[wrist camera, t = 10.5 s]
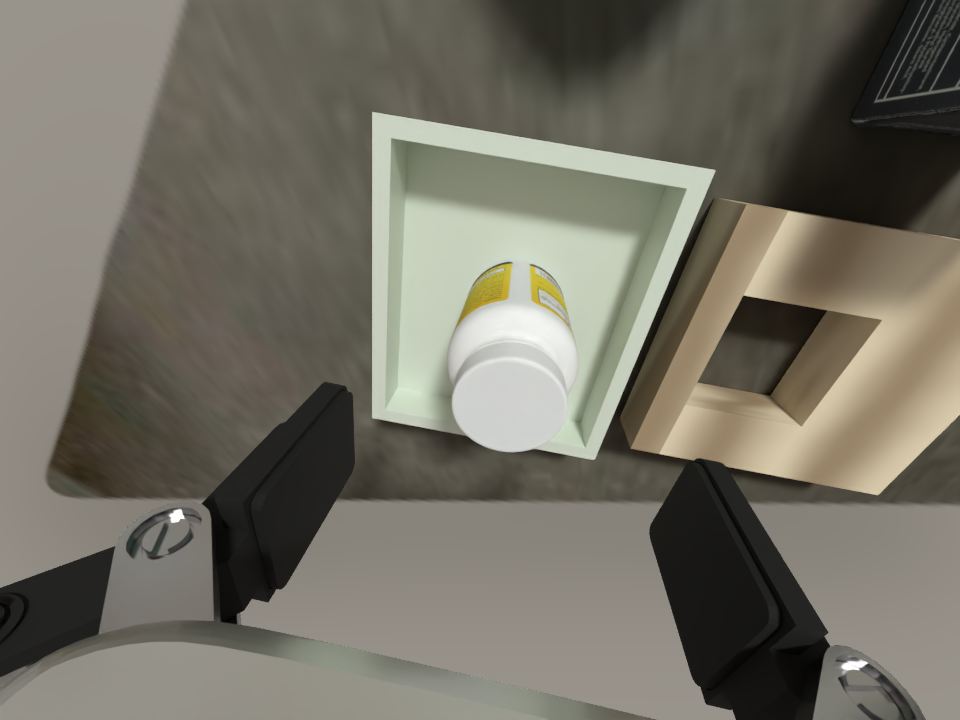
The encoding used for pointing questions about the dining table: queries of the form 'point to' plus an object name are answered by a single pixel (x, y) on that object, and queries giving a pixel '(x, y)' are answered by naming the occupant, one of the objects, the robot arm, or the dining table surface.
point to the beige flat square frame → (809, 349)
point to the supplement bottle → (512, 358)
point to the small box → (917, 73)
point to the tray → (516, 257)
